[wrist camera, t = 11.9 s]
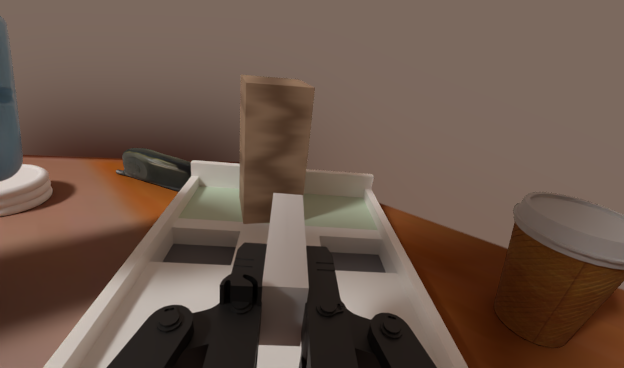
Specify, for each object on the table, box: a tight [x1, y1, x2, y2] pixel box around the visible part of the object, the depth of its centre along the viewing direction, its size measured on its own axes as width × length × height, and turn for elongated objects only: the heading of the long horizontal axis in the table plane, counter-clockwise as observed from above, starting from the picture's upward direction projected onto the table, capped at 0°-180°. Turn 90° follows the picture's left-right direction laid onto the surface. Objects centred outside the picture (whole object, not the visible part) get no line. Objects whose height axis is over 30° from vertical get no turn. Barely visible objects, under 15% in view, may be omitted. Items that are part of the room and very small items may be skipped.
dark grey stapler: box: [116, 148, 191, 192], centre depth 49 cm, size 5×3×15 cm
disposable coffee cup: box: [494, 192, 624, 348], centre depth 28 cm, size 10×10×12 cm
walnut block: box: [239, 75, 315, 224], centre depth 37 cm, size 7×7×16 cm
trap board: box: [43, 160, 468, 368], centre depth 32 cm, size 31×26×6 cm
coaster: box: [0, 164, 53, 217], centre depth 40 cm, size 10×10×4 cm
